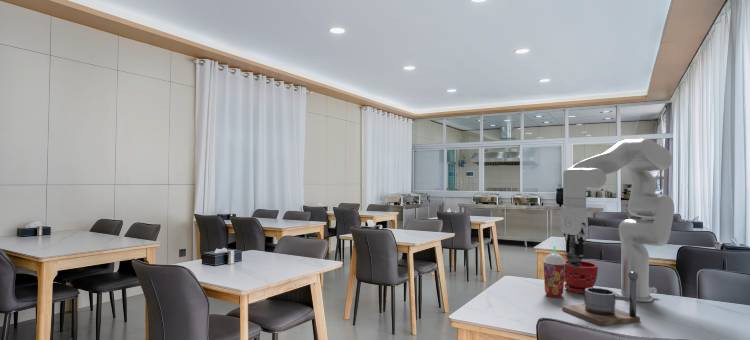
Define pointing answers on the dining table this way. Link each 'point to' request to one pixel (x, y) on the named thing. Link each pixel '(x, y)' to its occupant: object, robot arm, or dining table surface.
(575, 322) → the dining table surface
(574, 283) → the plant pot
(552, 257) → the smoothie
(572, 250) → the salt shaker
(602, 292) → the cup bracket
